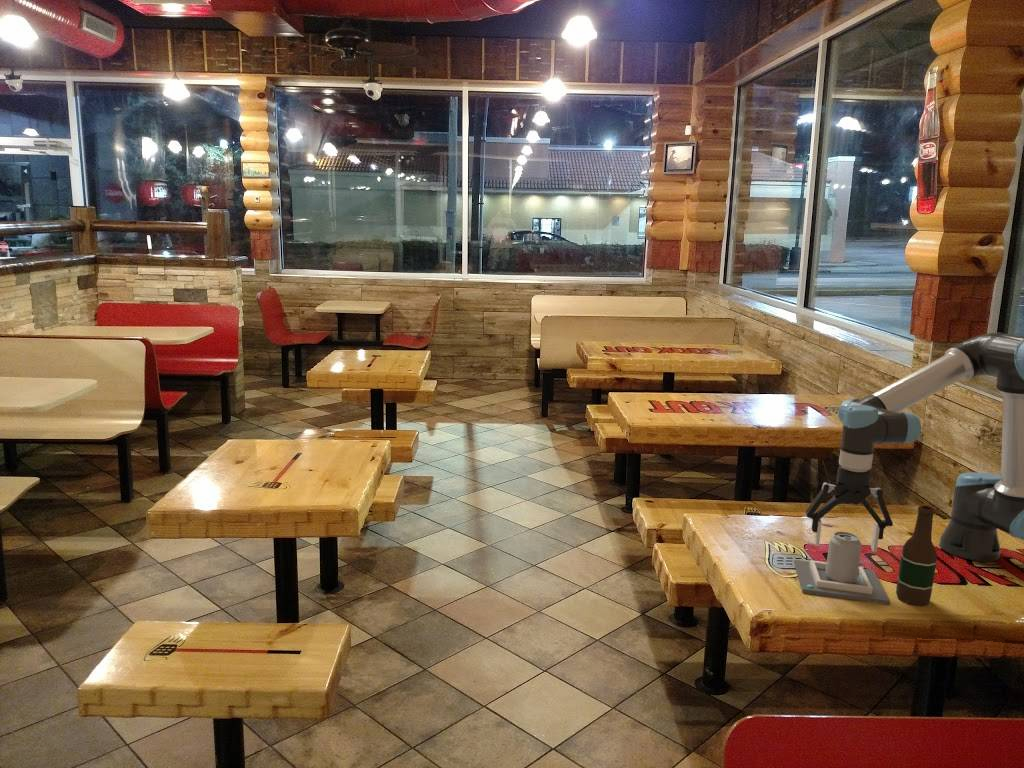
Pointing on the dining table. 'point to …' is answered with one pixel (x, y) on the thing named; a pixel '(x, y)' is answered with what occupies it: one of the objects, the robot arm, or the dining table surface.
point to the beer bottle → (918, 562)
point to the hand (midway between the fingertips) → (844, 547)
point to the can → (843, 557)
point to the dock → (820, 584)
